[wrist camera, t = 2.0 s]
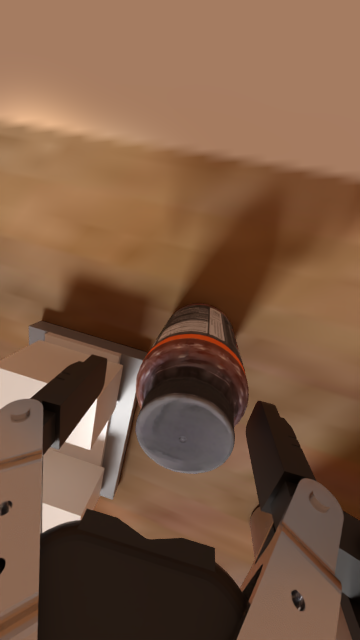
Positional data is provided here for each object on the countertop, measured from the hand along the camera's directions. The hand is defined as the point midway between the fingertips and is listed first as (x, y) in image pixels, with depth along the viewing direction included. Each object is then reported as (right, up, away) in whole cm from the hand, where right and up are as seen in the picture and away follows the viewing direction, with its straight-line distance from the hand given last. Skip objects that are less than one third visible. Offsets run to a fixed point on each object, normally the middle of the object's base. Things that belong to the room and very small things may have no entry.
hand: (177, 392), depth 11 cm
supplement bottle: (+2, +3, +8) cm, 9 cm away
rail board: (-11, -7, +13) cm, 18 cm away
